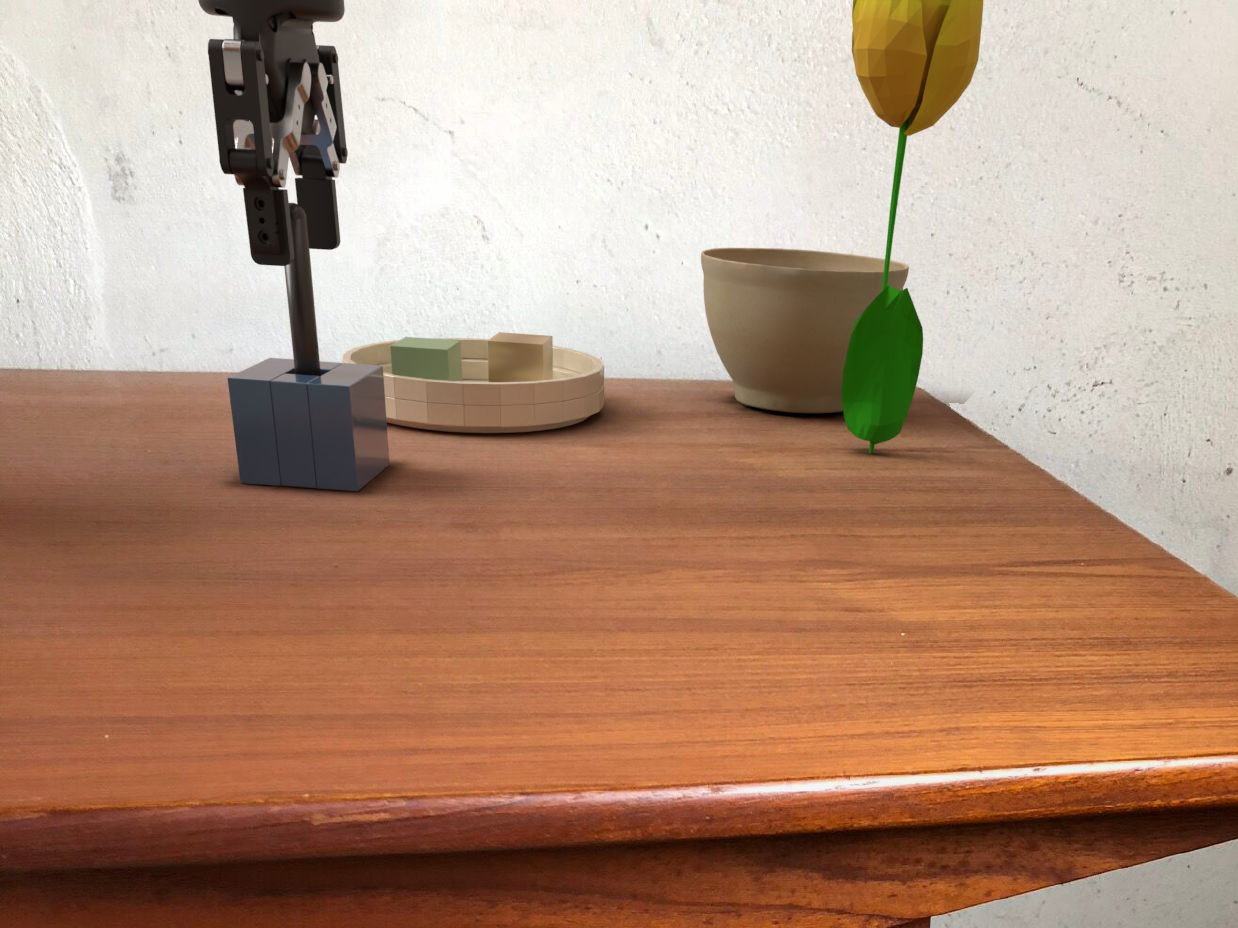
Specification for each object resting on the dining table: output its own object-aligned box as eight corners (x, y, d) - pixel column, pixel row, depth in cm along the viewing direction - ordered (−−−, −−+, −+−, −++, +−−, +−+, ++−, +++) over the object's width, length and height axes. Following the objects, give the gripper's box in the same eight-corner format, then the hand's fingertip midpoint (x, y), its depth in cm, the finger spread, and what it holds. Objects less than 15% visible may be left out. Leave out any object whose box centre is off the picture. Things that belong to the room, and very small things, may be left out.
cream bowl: (312, 425, 100) (307, 372, 98) (386, 377, 116) (383, 331, 114) (582, 444, 99) (582, 391, 97) (618, 393, 115) (618, 347, 114)
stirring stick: (301, 475, 88) (274, 202, 80) (309, 470, 89) (283, 201, 81) (325, 477, 88) (300, 204, 80) (333, 472, 89) (308, 202, 81)
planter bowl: (928, 423, 112) (947, 271, 106) (741, 429, 106) (750, 269, 101) (838, 384, 124) (851, 246, 119) (666, 387, 119) (671, 243, 113)
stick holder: (240, 483, 85) (227, 377, 82) (280, 456, 91) (269, 357, 88) (357, 491, 85) (349, 386, 82) (389, 464, 91) (383, 365, 88)
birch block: (489, 399, 108) (487, 340, 105) (500, 389, 111) (498, 332, 109) (543, 403, 107) (542, 344, 105) (553, 393, 111) (552, 335, 109)
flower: (805, 438, 105) (846, -59, 89) (912, 441, 106) (970, -50, 90) (826, 465, 97) (874, -71, 82) (940, 469, 98) (1009, -60, 83)
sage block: (393, 406, 104) (389, 345, 101) (408, 396, 107) (404, 336, 105) (450, 411, 103) (447, 349, 101) (463, 400, 107) (460, 340, 105)
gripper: (240, -81, 79) (276, 241, 88) (133, -110, 67) (186, 266, 76) (372, -75, 79) (395, 248, 88) (288, -103, 67) (324, 274, 76)
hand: (298, 256), depth 82 cm, fingers open, 8 cm apart
